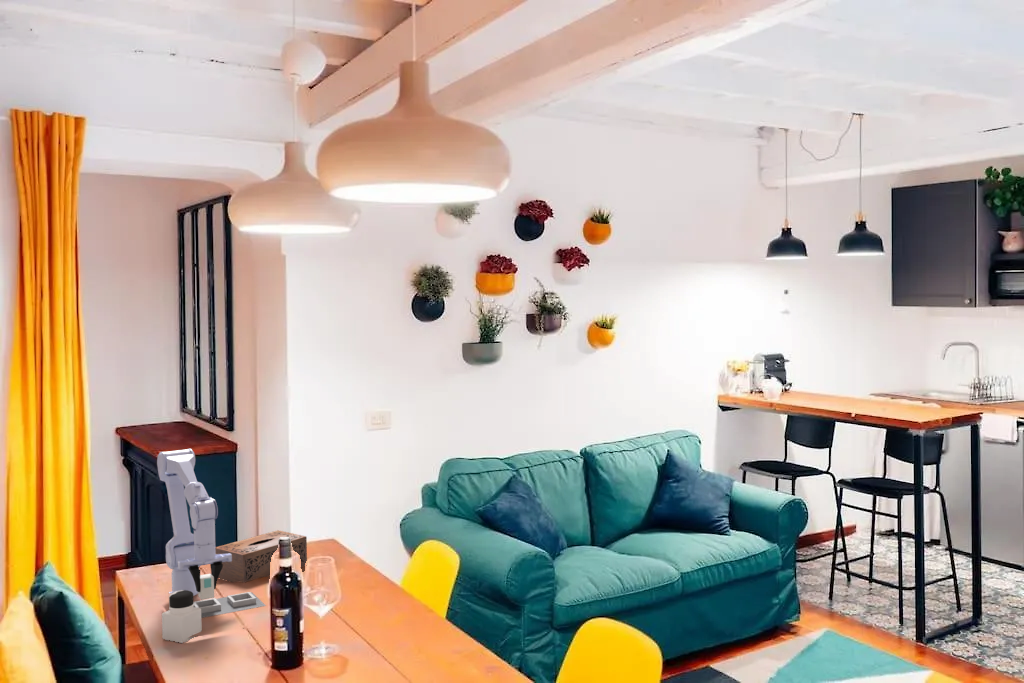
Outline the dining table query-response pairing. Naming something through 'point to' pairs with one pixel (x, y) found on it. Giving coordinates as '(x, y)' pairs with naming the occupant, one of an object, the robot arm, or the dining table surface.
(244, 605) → the grey flat plate
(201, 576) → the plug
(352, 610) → the dining table surface
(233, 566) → the tissue box cover
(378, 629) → the dining table surface
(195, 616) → the medicine bottle
